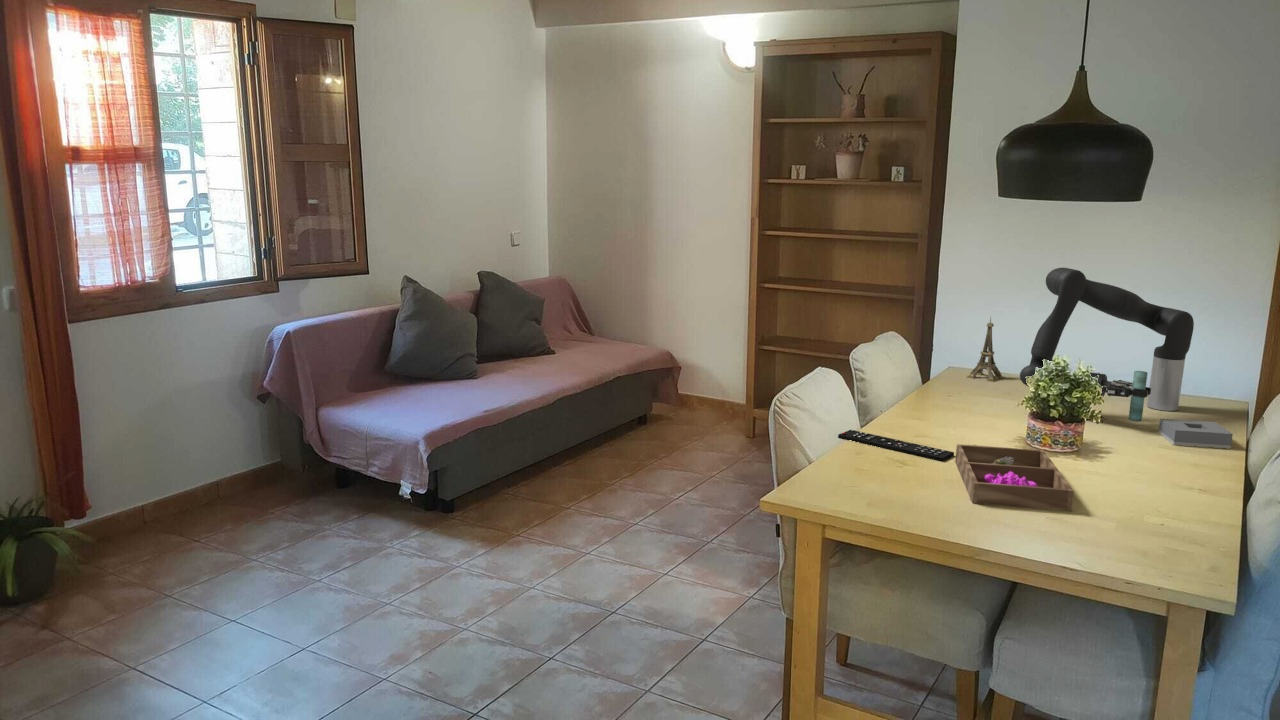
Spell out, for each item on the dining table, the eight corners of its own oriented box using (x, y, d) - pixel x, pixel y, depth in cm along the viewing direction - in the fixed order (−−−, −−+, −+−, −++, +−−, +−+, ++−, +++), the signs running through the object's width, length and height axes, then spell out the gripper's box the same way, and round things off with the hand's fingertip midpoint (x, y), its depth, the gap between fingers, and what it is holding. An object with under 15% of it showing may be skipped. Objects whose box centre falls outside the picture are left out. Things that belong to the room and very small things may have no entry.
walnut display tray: (955, 461, 252) (956, 444, 251) (1041, 468, 248) (1043, 450, 247) (972, 503, 222) (974, 483, 221) (1071, 511, 217) (1073, 490, 216)
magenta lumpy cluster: (982, 501, 223) (985, 475, 222) (983, 489, 232) (986, 463, 231) (1036, 509, 219) (1040, 482, 218) (1035, 496, 228) (1038, 470, 226)
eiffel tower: (966, 377, 354) (972, 312, 349) (976, 373, 362) (982, 309, 357) (994, 382, 347) (1000, 315, 342) (1004, 377, 355) (1010, 312, 350)
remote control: (850, 434, 279) (850, 427, 278) (953, 457, 258) (954, 450, 258) (836, 439, 273) (837, 433, 273) (941, 463, 252) (942, 456, 252)
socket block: (1158, 432, 284) (1160, 418, 283) (1212, 436, 281) (1214, 421, 280) (1173, 445, 271) (1175, 430, 270) (1230, 449, 268) (1232, 433, 268)
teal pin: (1126, 417, 289) (1132, 370, 286) (1139, 418, 288) (1145, 371, 285) (1130, 421, 285) (1136, 373, 282) (1143, 421, 285) (1149, 373, 282)
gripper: (1083, 376, 288) (1145, 384, 277) (1095, 368, 298) (1155, 376, 288) (1080, 399, 289) (1142, 409, 279) (1092, 391, 300) (1152, 400, 289)
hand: (1148, 392), depth 283 cm, fingers closed on teal pin, 3 cm apart
